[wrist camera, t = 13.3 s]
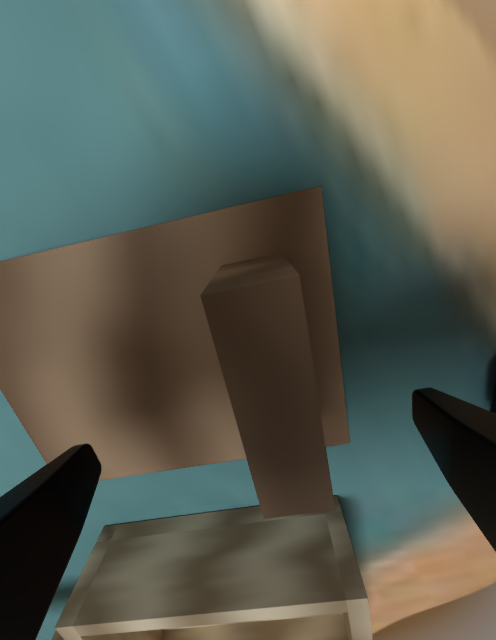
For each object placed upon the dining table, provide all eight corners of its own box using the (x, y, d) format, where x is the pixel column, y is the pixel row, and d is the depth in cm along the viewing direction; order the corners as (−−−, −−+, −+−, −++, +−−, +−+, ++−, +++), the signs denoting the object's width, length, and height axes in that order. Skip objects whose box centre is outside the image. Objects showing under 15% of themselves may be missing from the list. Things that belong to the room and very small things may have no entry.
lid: (310, 191, 12) (373, 159, 5) (338, 416, 16) (392, 542, 10) (-23, 269, 13) (-266, 313, 7) (81, 456, 17) (-14, 589, 11)
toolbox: (337, 495, 17) (377, 628, 12) (352, 602, 21) (387, 739, 16) (58, 532, 19) (-24, 662, 14) (120, 624, 23) (78, 754, 18)
